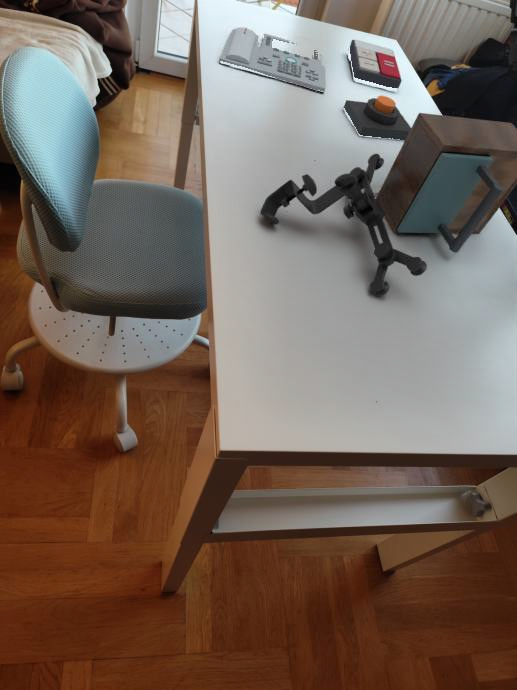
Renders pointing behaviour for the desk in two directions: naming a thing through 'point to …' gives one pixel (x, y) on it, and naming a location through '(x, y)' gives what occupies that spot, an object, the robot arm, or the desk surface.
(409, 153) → the closet
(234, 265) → the desk surface
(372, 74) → the button panel
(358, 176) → the tablet mount
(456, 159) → the sliding door
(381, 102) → the light button
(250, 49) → the office telephone
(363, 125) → the switch block
